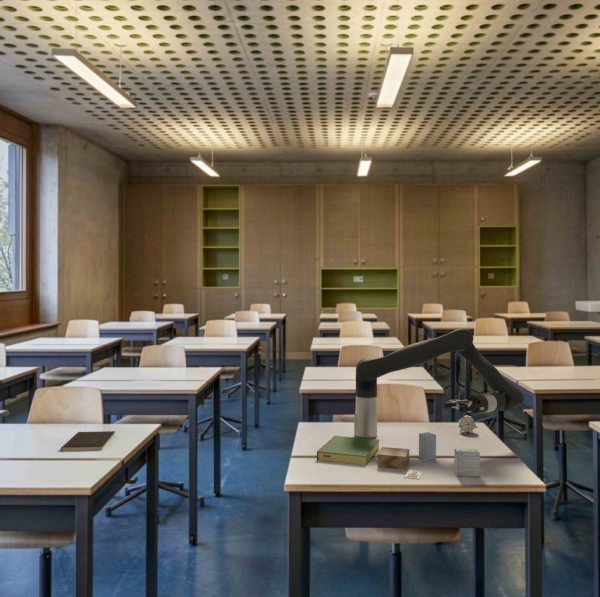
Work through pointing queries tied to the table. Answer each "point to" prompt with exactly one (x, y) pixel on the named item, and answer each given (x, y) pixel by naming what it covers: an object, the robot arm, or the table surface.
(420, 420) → the table surface
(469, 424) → the game die
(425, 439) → the top brick
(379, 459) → the base brick
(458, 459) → the medicine box
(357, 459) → the hardcover book
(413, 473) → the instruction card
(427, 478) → the table surface
